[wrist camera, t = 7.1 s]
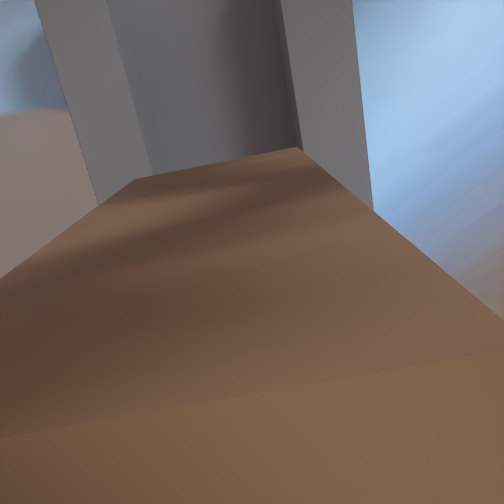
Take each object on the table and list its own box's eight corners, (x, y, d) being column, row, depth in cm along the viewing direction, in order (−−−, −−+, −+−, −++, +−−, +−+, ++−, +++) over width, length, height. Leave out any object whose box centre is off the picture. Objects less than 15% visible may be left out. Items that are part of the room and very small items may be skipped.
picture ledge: (322, -56, 17) (341, -94, 13) (381, 441, 25) (403, 495, 21) (68, 0, 17) (26, -24, 14) (206, 470, 25) (200, 527, 22)
